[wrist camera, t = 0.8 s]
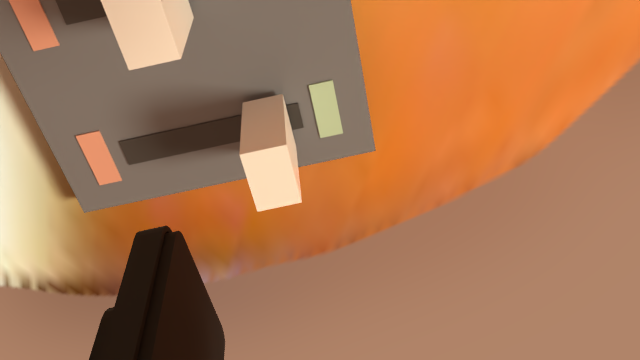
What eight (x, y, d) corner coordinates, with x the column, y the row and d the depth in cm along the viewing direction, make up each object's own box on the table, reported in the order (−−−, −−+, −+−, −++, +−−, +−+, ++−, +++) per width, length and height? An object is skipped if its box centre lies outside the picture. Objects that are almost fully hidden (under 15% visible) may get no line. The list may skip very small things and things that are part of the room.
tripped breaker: (124, -42, 24) (96, -10, 20) (171, -53, 24) (152, -22, 20) (150, 27, 26) (128, 70, 22) (193, 17, 26) (180, 59, 22)
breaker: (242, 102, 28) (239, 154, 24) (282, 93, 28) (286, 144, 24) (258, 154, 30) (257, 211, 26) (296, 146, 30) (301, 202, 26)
